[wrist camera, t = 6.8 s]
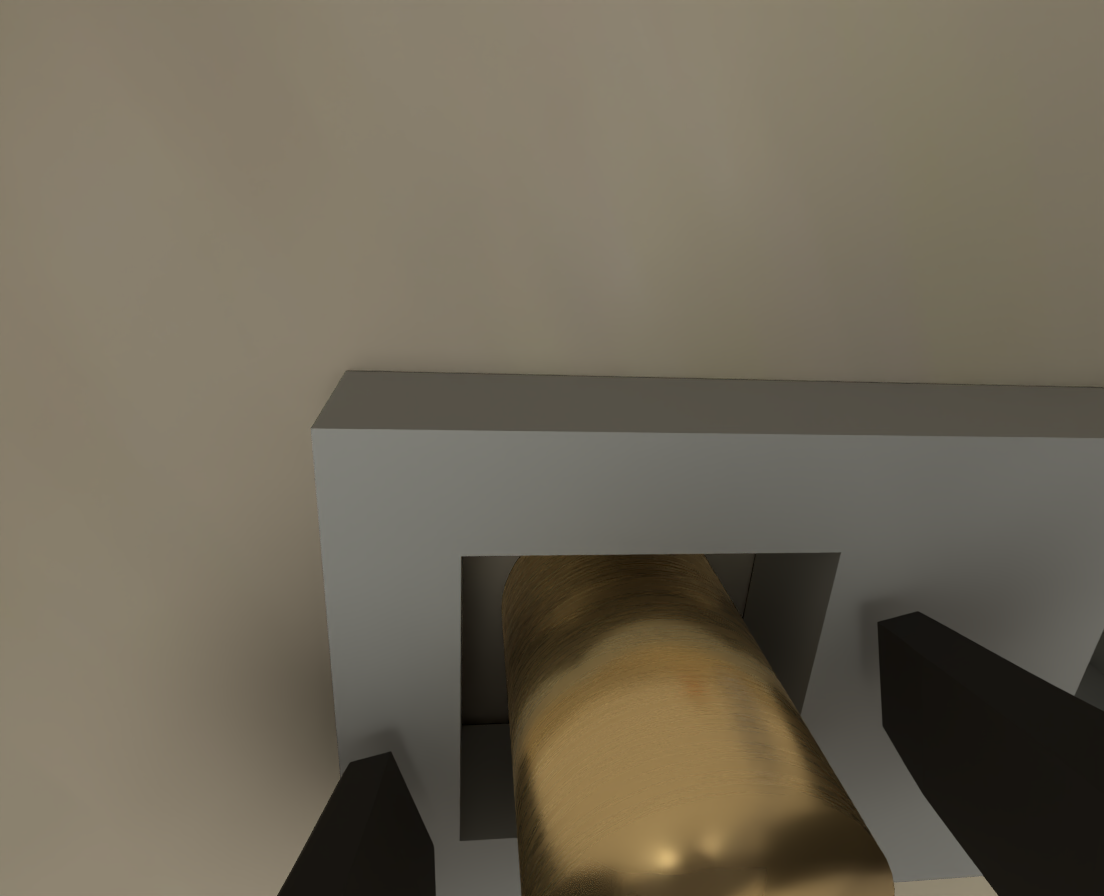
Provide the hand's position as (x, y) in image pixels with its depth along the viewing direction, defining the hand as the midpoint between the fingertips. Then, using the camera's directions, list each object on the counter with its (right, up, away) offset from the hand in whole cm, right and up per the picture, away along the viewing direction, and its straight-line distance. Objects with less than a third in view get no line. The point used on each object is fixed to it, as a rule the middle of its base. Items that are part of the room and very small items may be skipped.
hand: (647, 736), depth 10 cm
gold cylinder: (0, +1, +3) cm, 3 cm away
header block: (+4, +1, +3) cm, 5 cm away
